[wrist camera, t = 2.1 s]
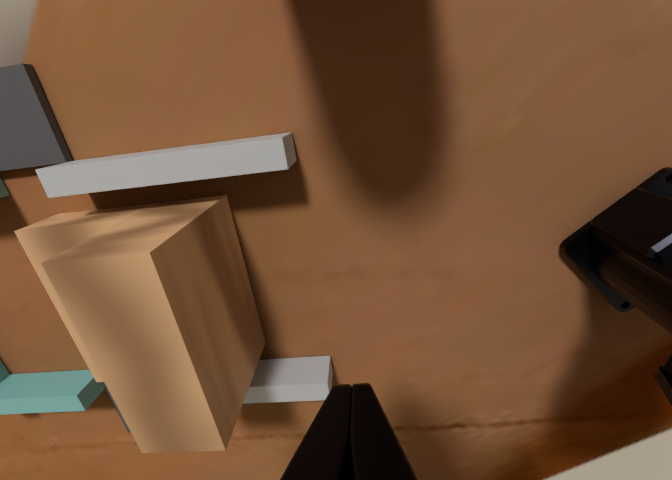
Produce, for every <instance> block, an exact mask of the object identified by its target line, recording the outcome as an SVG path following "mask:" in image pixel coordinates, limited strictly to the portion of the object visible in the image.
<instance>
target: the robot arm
mask: <svg viewBox="0 0 672 480" xmlns="http://www.w3.org/2000/svg"><path fill="white" fill-rule="evenodd" d="M668 175H670V177H669V179H668V180H666V177H667V176H668ZM572 244H574V247H573V248H571V249H569V247H570V246H571V245H572ZM561 249H562V251H563V252H564V253H565V254H566V255H567V256H568V258H569V259H570V260H571V261H572V262H573V263H574V264H575V265H576V266H577V267H578V268H579V270H580V271H581V272H582V273H583V274H584V275H585V276H586V277H587V278H588V279H589V280H590V282H591V283H592V284H593V285H594V286H595V287H596V288H597V289H598V290H599V291H600V293H601V294H602V295H603V296H604V297H605V298H606V299H607V300H608V301H609V302H610V303H611V305H612V306H613V307H615V308H616V309H617V310H618V311H621V312H625V311H628V310H630V309H632V308H634V307H637V308H638V309H639V310H641V311H642V312H643V313H645V314H646V315H647V316H649V317H650V318H651V319H652V320H654V321H655V322H656V323H658V324H659V325H660V326H662V327H663V328H664V329H666V330H667V331H668V332H670V333H671V334H672V168H669V167H667V168H663V169H661V170H659V171H658V172H657V173H655V174H654V175H653V176H651V177H650V178H648V179H647V180H646V181H644V182H643V183H642V184H640V185H639V186H638V187H636V188H635V189H633V190H632V191H630V192H629V193H628V194H626V195H625V196H624V197H622V198H621V199H619V200H618V201H617V202H615V203H614V204H613V205H611V206H610V207H608V208H607V209H606V210H604V211H603V212H602V213H600V214H599V215H598V216H596V217H595V218H594V219H592V220H591V221H590V222H588V223H587V224H585V225H584V226H583V227H581V228H580V229H579V230H577V231H576V232H574V233H573V234H572V235H570V236H569V237H568V238H566V239H565V240H564V241H563V242H562V244H561ZM623 302H624V303H623ZM622 303H623V304H622ZM654 377H655V379H656V380H657V382H658V384H659V385H660V387H661V389H662V390H663V392H664V394H665V395H666V397H667V398H668V400H669V402H670V403H671V405H672V354H671V355H670V357H669V358H668V360H667V361H666V363H665V365H664V366H660V367H659V369H658V370H657V372H656V373H655V375H654ZM280 480H417V477H416V475H415V473H414V471H413V469H412V467H411V465H410V463H409V461H408V459H407V457H406V455H405V453H404V451H403V449H402V447H401V445H400V443H399V441H398V439H397V437H396V435H395V433H394V431H393V429H392V427H391V425H390V423H389V421H388V419H387V417H386V415H385V413H384V411H383V409H382V407H381V405H380V403H379V401H378V399H377V396H376V394H375V392H374V390H373V388H372V386H371V385H370V384H369V383H360V384H353V386H351V385H350V384H341V385H334V386H333V387H332V389H331V390H330V392H329V394H328V396H327V397H326V399H325V401H324V403H323V405H322V406H321V408H320V410H319V412H318V413H317V415H316V417H315V419H314V420H313V422H312V424H311V426H310V428H309V429H308V431H307V433H306V435H305V436H304V438H303V440H302V442H301V443H300V445H299V447H298V449H297V450H296V452H295V454H294V456H293V458H292V459H291V461H290V463H289V465H288V466H287V468H286V470H285V472H284V473H283V475H282V477H281V479H280Z"/></svg>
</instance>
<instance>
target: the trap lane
mask: <svg viewBox="0 0 672 480" xmlns="http://www.w3.org/2000/svg"><path fill="white" fill-rule="evenodd" d="M295 161H296V154H295V148H294V142H293V137H292V132H290V133H283V134H275V135H267V136H260V137H252V138H244V139H237V140H229V141H222V142H214V143H206V144H199V145H191V146H183V147H176V148H168V149H161V150H153V151H145V152H138V153H130V154H122V155H115V156H107V157H100V158H92V159H84V160H77V161H73V159H72V157H71V155H70V152H69V150H68V148H67V145H66V143H65V141H64V138H63V136H62V134H61V132H60V129H59V127H58V125H57V122H56V120H55V118H54V115H53V113H52V111H51V108H50V106H49V104H48V101H47V99H46V97H45V95H44V92H43V90H42V88H41V85H40V83H39V81H38V78H37V76H36V74H35V71H34V69H33V67H32V65H30V64H19V65H13V66H7V67H1V68H0V171H5V170H13V169H21V168H28V167H36V166H44V165H51V164H58V165H53V166H49V167H44V168H40V169H36V170H35V171H36V173H37V175H38V177H39V179H40V181H41V183H42V186H43V188H44V190H45V192H46V194H47V196H48V198H52V197H60V196H68V195H77V194H85V193H93V192H102V191H110V190H119V189H127V188H135V187H144V186H152V185H160V184H169V183H177V182H186V181H194V180H202V179H211V178H219V177H227V176H236V175H244V174H253V173H261V172H269V171H278V170H286V169H289V168H290V167H291V166H292V165H293V164H294V162H295ZM59 163H62V164H59ZM9 195H10V194H9V192H8V191H7V189H6V187H5V185H4V183H3V181H2V179H1V177H0V198H2V197H5V196H9ZM332 377H333V368H332V363H331V357H330V356H315V357H298V358H281V359H264V360H259V362H258V365H257V367H256V370H255V373H254V375H253V378H252V381H251V383H250V386H249V389H248V391H247V394H246V397H245V399H244V402H243V404H247V403H270V402H292V401H315V400H325V399H326V397H327V396H328V394H329V392H330V390H331V389H332ZM104 389H105V390H106V392H107V394H108V395H109V397H110V399H111V401H112V403H113V405H114V407H115V408H116V410H117V412H118V414H119V416H120V418H121V420H122V421H123V423H124V425H125V427H126V429H127V431H128V432H131V431H130V429H129V428H128V426H127V424H126V422H125V420H124V418H123V416H122V414H121V413H120V411H119V409H118V407H117V405H116V403H115V401H114V399H113V398H112V396H111V394H110V392H109V390H108V388H107V386H106V384H105V383H104V382H96V380H95V379H94V377H93V375H92V373H91V371H90V370H76V371H59V372H42V373H25V374H10V373H9V372H8V370H7V369H6V367H5V366H4V364H3V363H2V361H1V360H0V414H23V413H45V412H68V411H86V410H87V408H88V407H89V406H90V405H91V404H92V403H93V401H94V400H95V399H96V398H97V397H98V396H99V395H100V393H101V392H102V391H103V390H104Z"/></svg>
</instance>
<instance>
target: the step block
mask: <svg viewBox="0 0 672 480" xmlns="http://www.w3.org/2000/svg"><path fill="white" fill-rule="evenodd" d="M14 232H15V234H16V236H17V238H18V239H19V241H20V243H21V245H22V247H23V249H24V250H25V252H26V254H27V256H28V258H29V260H30V261H31V263H32V265H33V267H34V269H35V271H36V272H37V274H38V276H39V278H40V280H41V282H42V283H43V285H44V287H45V289H46V291H47V293H48V294H49V296H50V298H51V300H52V302H53V303H54V305H55V307H56V309H57V311H58V313H59V314H60V316H61V318H62V320H63V322H64V324H65V325H66V327H67V329H68V331H69V333H70V335H71V336H72V338H73V340H74V342H75V344H76V346H77V347H78V349H79V351H80V353H81V355H82V357H83V358H84V360H85V362H86V364H87V366H88V368H89V369H90V371H91V373H92V375H93V377H94V379H95V380H96V382H104V383H105V384H106V386H107V388H108V390H109V392H110V394H111V396H112V398H113V399H114V401H115V403H116V405H117V407H118V409H119V411H120V413H121V414H122V416H123V418H124V420H125V422H126V424H127V426H128V428H129V429H130V431H131V433H132V435H133V437H134V439H135V441H136V443H137V444H138V446H139V448H140V450H141V452H142V453H151V452H185V451H219V450H226V448H227V445H228V442H229V440H230V437H231V434H232V432H233V429H234V426H235V424H236V421H237V418H238V416H239V413H240V410H241V408H242V405H243V402H244V399H245V397H246V394H247V391H248V389H249V386H250V383H251V381H252V378H253V375H254V373H255V370H256V367H257V365H258V362H259V359H260V356H261V354H262V351H263V348H264V346H265V343H266V342H265V338H264V334H263V330H262V327H261V323H260V319H259V315H258V312H257V308H256V304H255V300H254V296H253V293H252V289H251V285H250V281H249V278H248V274H247V270H246V266H245V262H244V259H243V255H242V251H241V247H240V244H239V240H238V236H237V232H236V228H235V225H234V221H233V217H232V213H231V210H230V206H229V202H228V198H227V195H220V196H211V197H203V198H194V199H185V200H176V201H167V202H159V203H150V204H141V205H132V206H123V207H114V208H106V209H97V210H88V211H79V212H70V213H62V214H57V215H54V216H52V217H49V218H47V219H44V220H41V221H39V222H36V223H34V224H31V225H29V226H26V227H24V228H21V229H19V230H16V231H14Z"/></svg>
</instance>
